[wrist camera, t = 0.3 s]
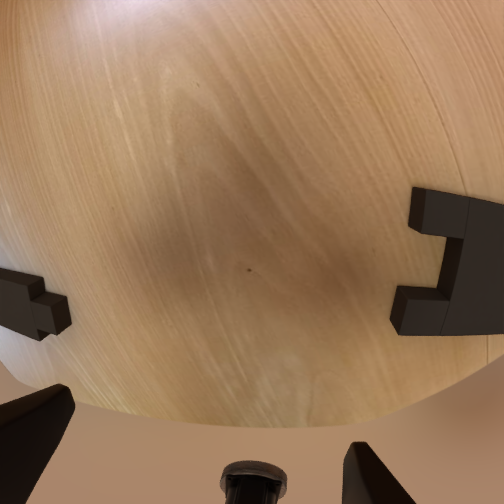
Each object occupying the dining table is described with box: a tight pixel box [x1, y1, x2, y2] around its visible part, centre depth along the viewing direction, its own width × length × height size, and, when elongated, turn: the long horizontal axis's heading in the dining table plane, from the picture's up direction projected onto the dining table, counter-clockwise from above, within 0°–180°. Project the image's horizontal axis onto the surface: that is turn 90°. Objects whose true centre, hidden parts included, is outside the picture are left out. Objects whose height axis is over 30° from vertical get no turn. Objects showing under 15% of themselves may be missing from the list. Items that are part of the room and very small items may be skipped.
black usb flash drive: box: [0, 268, 71, 341], centre depth 25 cm, size 6×15×2 cm, turn 87°
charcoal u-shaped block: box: [390, 187, 504, 336], centre depth 18 cm, size 10×12×2 cm
